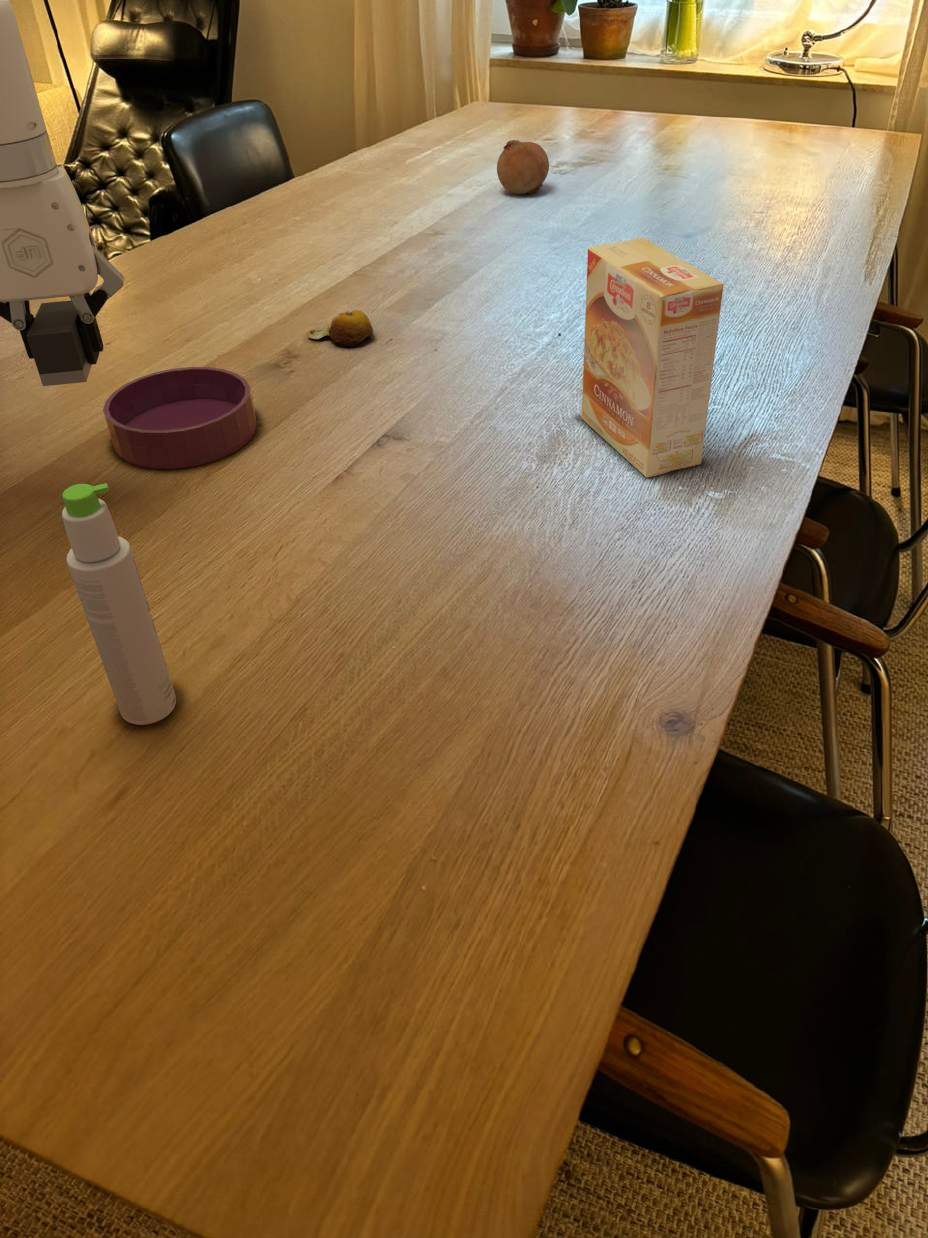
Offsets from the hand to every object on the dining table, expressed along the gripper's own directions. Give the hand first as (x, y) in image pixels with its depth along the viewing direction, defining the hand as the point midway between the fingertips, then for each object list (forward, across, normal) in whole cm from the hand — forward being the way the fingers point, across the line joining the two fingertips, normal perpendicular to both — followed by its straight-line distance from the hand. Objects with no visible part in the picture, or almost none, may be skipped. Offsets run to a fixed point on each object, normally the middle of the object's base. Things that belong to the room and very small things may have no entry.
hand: (68, 359), depth 96 cm
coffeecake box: (+15, +57, -2) cm, 59 cm away
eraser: (+1, 0, 0) cm, 1 cm away
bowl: (+15, +7, +11) cm, 20 cm away
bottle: (+15, +7, -35) cm, 38 cm away
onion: (+15, +64, +92) cm, 113 cm away
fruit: (+15, +28, +35) cm, 47 cm away
